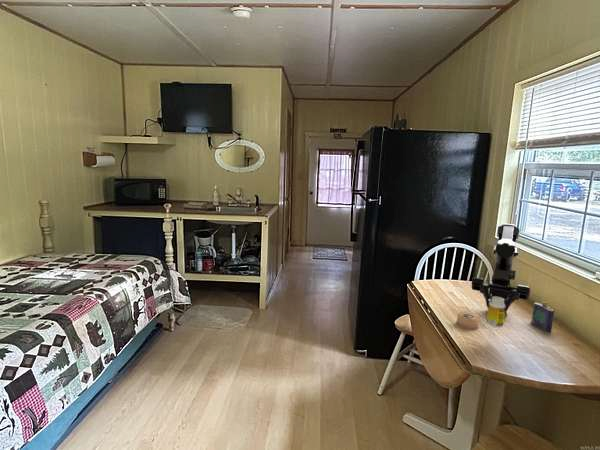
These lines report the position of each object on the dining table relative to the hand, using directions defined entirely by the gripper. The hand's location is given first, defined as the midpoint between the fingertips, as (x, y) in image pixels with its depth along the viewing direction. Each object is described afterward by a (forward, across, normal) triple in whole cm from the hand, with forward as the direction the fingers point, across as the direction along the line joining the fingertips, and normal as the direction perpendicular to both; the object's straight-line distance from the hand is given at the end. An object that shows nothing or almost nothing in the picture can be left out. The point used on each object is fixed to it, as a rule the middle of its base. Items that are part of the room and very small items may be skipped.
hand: (496, 308), depth 129 cm
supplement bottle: (+4, 0, +6) cm, 7 cm away
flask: (-9, +16, +29) cm, 34 cm away
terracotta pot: (+2, -10, +17) cm, 20 cm away
